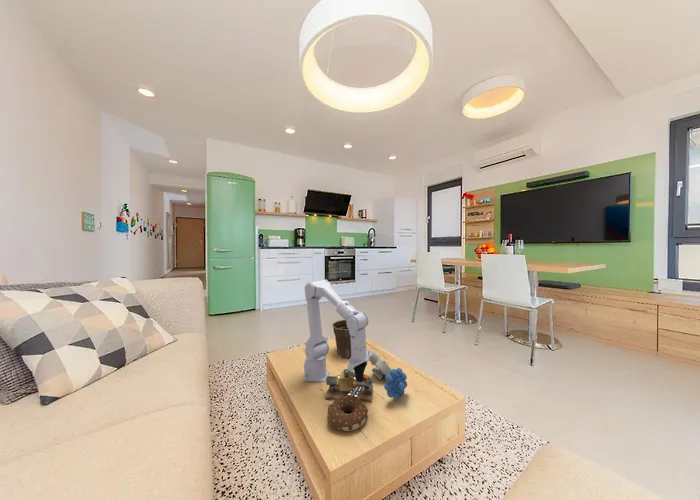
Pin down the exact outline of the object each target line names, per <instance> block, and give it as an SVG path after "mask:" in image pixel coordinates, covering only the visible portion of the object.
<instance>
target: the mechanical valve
mask: <svg viewBox="0 0 700 500" xmlns="http://www.w3.org/2000/svg"><path fill="white" fill-rule="evenodd" d="M367 358H369V361H368V362H370V364H371V365H372V366H375V367H372V369H371V372H372V373H374V375H375V376H376V377H377V378H378V379H379V380H381V379H382V378H383V375H384V378H385V379H386V376H387V375H388V374H389V375H390V371H391V370H392V369H393V368H392V367H390V365H389V363H388V362H387V361H385V359H381V356H380V355H379V354H377V353H376V352H375V351H374V350H373V349H371V350H370V349H369V355H368V356H367Z"/></svg>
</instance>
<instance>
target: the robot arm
mask: <svg viewBox="0 0 700 500" xmlns="http://www.w3.org/2000/svg"><path fill="white" fill-rule="evenodd" d="M304 296H305V301H306V308H307V315H308V316H307V317H308V326H309V335H310V336H309V338H308V339H307V341H306V342H305V347H304V348H305V349H304V353H305V358H304V363H303V369H304V370H303V371H304V379H303V380H304V381H305V382H318V383H319V382H321V383H324V382H325V383H326V380H327V376H329V373H330V372H329V370H328V371H327V362H326V361H327V358H326V357H328V353H329V352H330V345H329V343H328V338H327V337H326V336H324V335H323V331H322V330H323V329H322V320H321V312H320V311H321V310H320V300H321V299H322V297H323V298H326V299H327V301H329V303H331V304H332V305H334V306H335V307H336V309H335V310H336V313H338V315H339V316H340V317H342V320H345V321H346V323H347V327H348V329H349V333H350V336H351V358H349V362H348V364H347V365H346V366H347V368H346V369H347V371H351V372H355V375H356V381H358V382H362V381H363V376H364V374H365V370H366V367H367V366H368V362H370V361H369V358H367V356H368V355H369V351H370V349H367V341H366V340H367V337H366V336H367V335H366V334H367V333H366V327H367V326H368V325H369V318H368V316H367V314H366V313H365V312H364V311H359V310H357V309H356V308H355V307H354V306H353V305H352V304H351V303H350V302H349V301H347V300H342V298H341V297H340V296H339V295H338V294H337V293H336V291H334V289H333V288H332V284H331V283H330V282H329V281H328V279H322V280H317V281H312V282H311V281H310V282H307V283H306V284H305V286H304Z"/></svg>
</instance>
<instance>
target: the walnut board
mask: <svg viewBox="0 0 700 500" xmlns="http://www.w3.org/2000/svg"><path fill="white" fill-rule="evenodd" d="M329 386H330V385H328V388H327V391H326V392H325V393H326V394H325V396H324V400H326V401H335V400H336V399H338V398H340V397H344V396H345V397H346V396H347V394H348V393H349V392H350V391H340V387H337V386H336V389H335V392H329ZM373 391H374V385H373V384H372V387H370V394H364V387H363V389H362V391H361V393H360V394H359V396H358V399H359V400H361V401H363V403H372V401H373V394H374V393H373Z"/></svg>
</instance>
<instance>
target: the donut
mask: <svg viewBox="0 0 700 500" xmlns="http://www.w3.org/2000/svg"><path fill="white" fill-rule="evenodd" d="M368 412H369V410H368V408H367V405H366V403H365V402H363V401H361V400H359V399H358V398H357V397H353V396H347V397H345V396H344V397H340V398H338V399H336V400H332V403H330V404H329V405H328V406H327V417H326V418H327V421H328V422H329V424H330V426H332V428H335V429H336V430H339V431H341V432H352V431H355V430H358V429H359V428H361V427H362V426H363V425H364V424H365V423H366V421H367V419H368V414H369V413H368Z"/></svg>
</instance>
